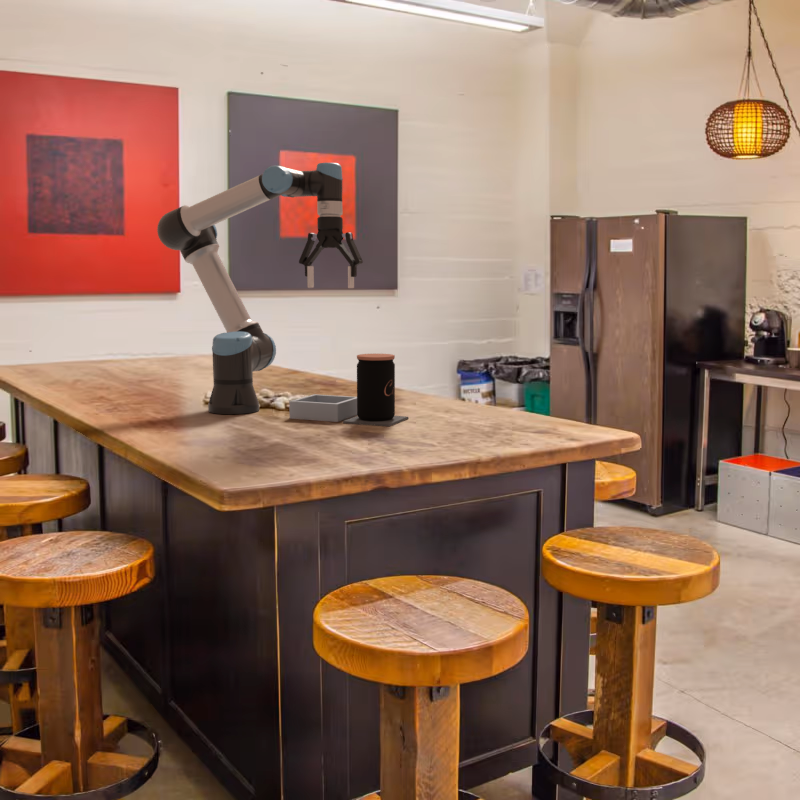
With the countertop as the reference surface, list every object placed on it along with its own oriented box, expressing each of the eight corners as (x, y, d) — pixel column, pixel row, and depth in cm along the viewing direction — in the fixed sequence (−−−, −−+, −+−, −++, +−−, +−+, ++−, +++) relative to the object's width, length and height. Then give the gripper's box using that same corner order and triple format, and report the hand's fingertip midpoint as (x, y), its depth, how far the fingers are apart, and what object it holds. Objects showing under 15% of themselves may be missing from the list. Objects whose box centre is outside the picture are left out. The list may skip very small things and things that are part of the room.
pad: (343, 423, 256) (343, 421, 255) (364, 415, 268) (364, 413, 268) (389, 426, 250) (389, 424, 250) (408, 418, 263) (408, 416, 263)
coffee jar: (390, 422, 253) (390, 357, 250) (352, 421, 255) (352, 356, 253) (398, 416, 263) (398, 353, 261) (362, 415, 265) (361, 353, 263)
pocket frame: (289, 418, 263) (289, 401, 263) (314, 410, 278) (314, 394, 277) (337, 421, 258) (337, 404, 257) (360, 413, 272) (360, 397, 271)
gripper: (287, 216, 275) (288, 287, 278) (362, 214, 266) (363, 288, 269) (299, 217, 282) (300, 287, 285) (373, 216, 273) (373, 288, 276)
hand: (330, 288), depth 277 cm, fingers open, 13 cm apart
